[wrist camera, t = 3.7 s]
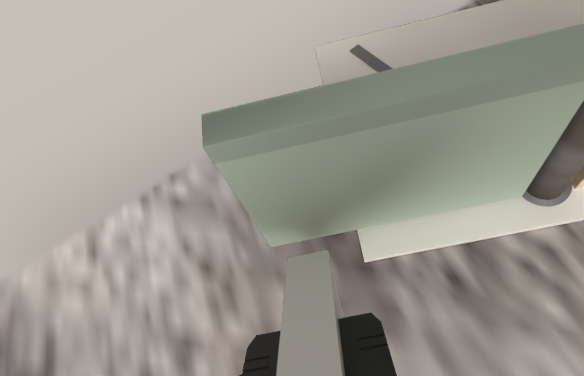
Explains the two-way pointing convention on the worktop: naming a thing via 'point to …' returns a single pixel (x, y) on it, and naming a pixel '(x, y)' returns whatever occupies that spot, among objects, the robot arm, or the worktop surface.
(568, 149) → the fixed fence section
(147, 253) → the worktop surface
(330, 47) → the card
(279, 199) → the hinged fence section
